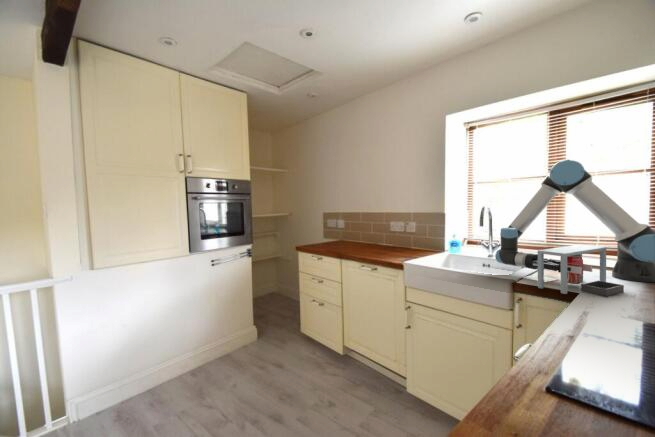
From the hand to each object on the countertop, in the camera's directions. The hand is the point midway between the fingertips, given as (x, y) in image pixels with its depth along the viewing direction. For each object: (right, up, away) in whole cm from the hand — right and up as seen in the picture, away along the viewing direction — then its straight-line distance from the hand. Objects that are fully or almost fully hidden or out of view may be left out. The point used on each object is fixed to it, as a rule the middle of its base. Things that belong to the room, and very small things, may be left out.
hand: (586, 269), depth 114 cm
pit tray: (+2, -8, -4) cm, 10 cm away
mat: (-6, -8, +17) cm, 20 cm away
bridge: (-2, -8, +5) cm, 9 cm away
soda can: (-2, -7, +5) cm, 8 cm away
